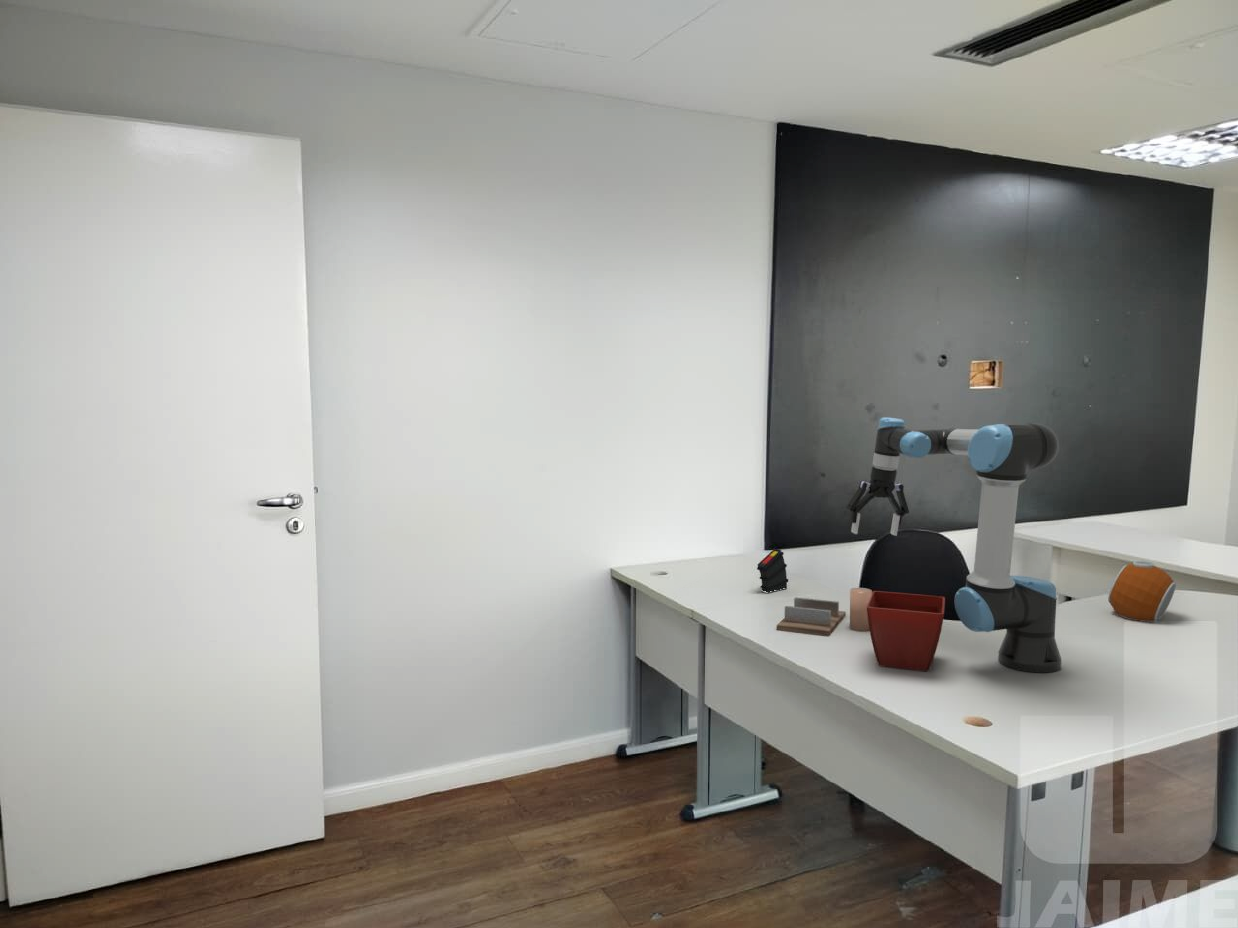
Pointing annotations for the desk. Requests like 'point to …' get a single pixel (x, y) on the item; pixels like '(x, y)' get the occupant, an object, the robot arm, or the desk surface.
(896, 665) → the plant pot
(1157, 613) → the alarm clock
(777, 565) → the magazine
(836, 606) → the rack
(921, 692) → the desk surface
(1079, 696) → the desk surface
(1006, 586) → the robot arm
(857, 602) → the peach pillar candle
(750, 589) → the desk surface
